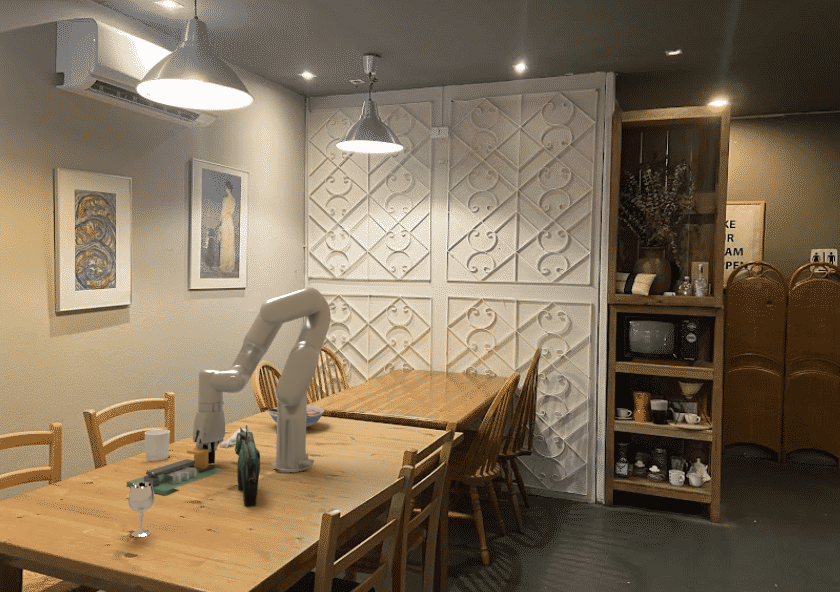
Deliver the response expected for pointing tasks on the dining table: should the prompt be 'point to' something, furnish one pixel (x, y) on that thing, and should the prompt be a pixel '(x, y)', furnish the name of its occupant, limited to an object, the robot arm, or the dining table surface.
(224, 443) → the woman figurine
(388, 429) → the dining table surface
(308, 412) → the ramen bowl
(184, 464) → the dark grey flat bar
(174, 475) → the heat sink
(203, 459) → the catch
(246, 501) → the dark green sculpted piece
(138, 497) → the wineglass
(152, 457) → the white cup
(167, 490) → the circuit board
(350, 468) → the dining table surface
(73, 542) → the dining table surface
